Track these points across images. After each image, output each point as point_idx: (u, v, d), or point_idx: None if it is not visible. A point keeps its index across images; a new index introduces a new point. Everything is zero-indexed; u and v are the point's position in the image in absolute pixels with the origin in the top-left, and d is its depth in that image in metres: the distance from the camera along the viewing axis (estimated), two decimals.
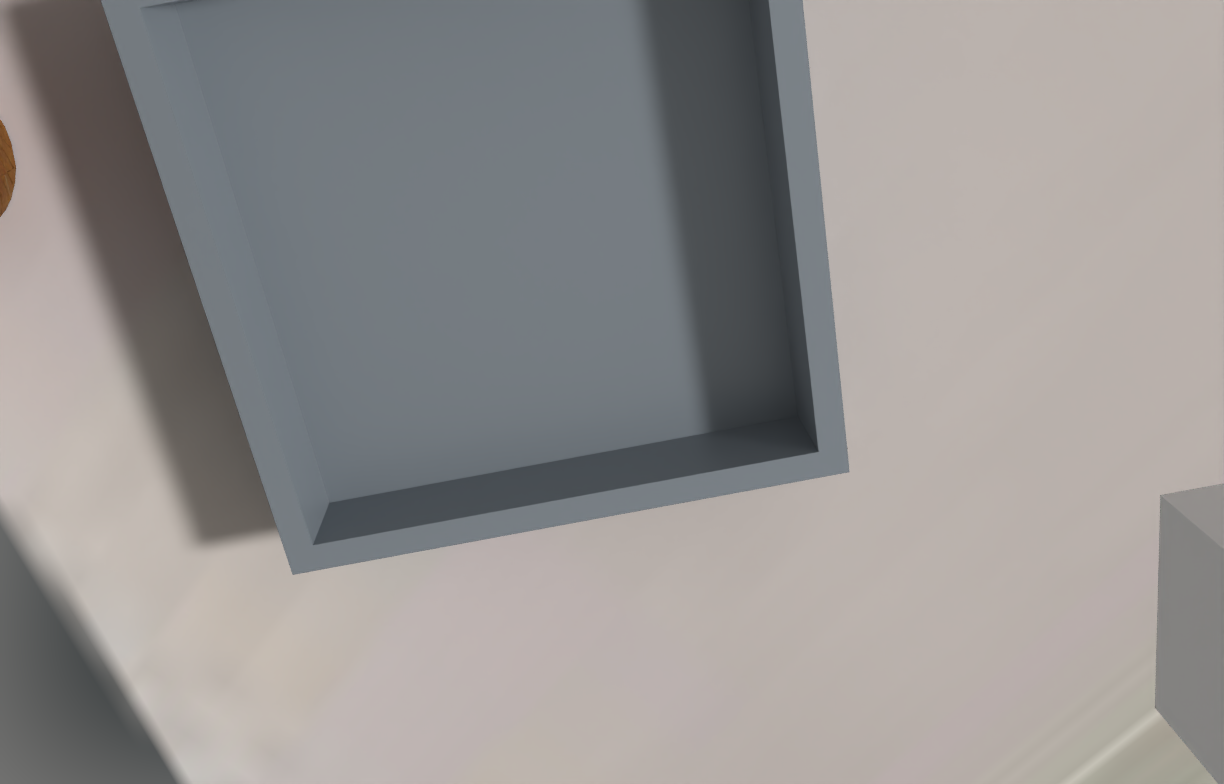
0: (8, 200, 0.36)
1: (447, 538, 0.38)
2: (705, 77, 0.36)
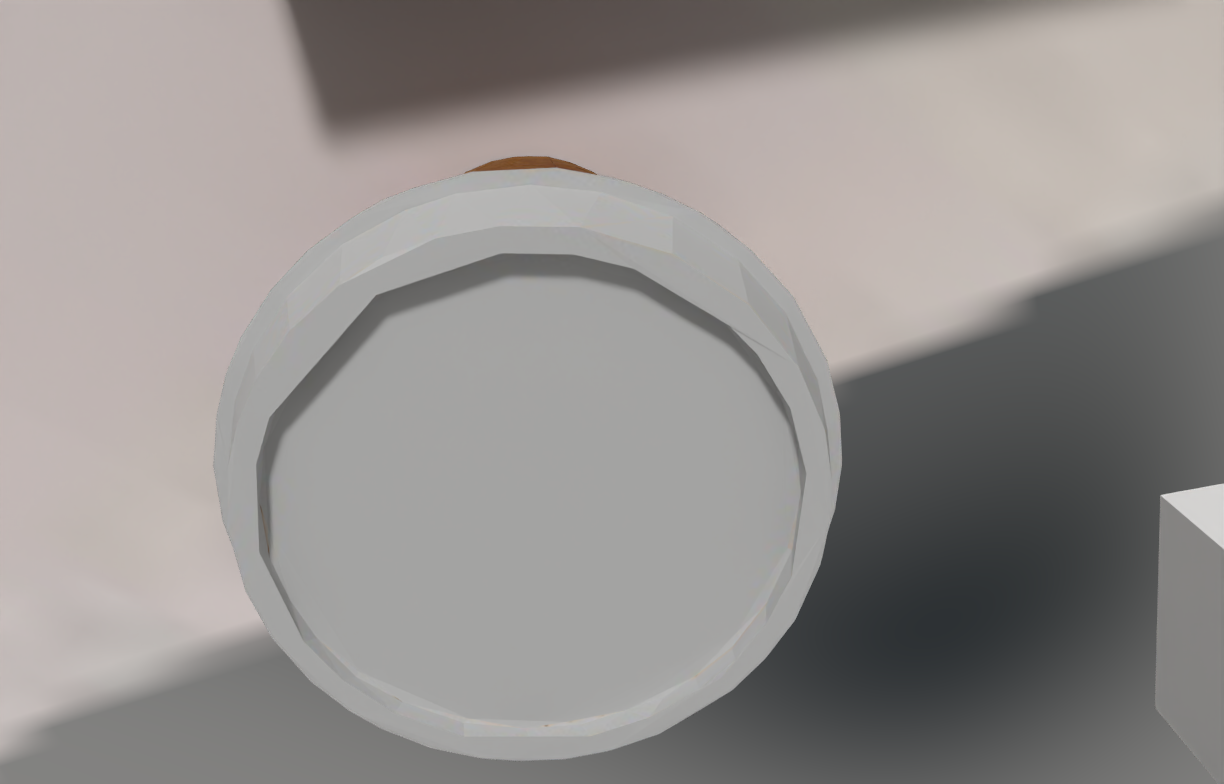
0: (595, 174, 0.25)
1: None
2: None
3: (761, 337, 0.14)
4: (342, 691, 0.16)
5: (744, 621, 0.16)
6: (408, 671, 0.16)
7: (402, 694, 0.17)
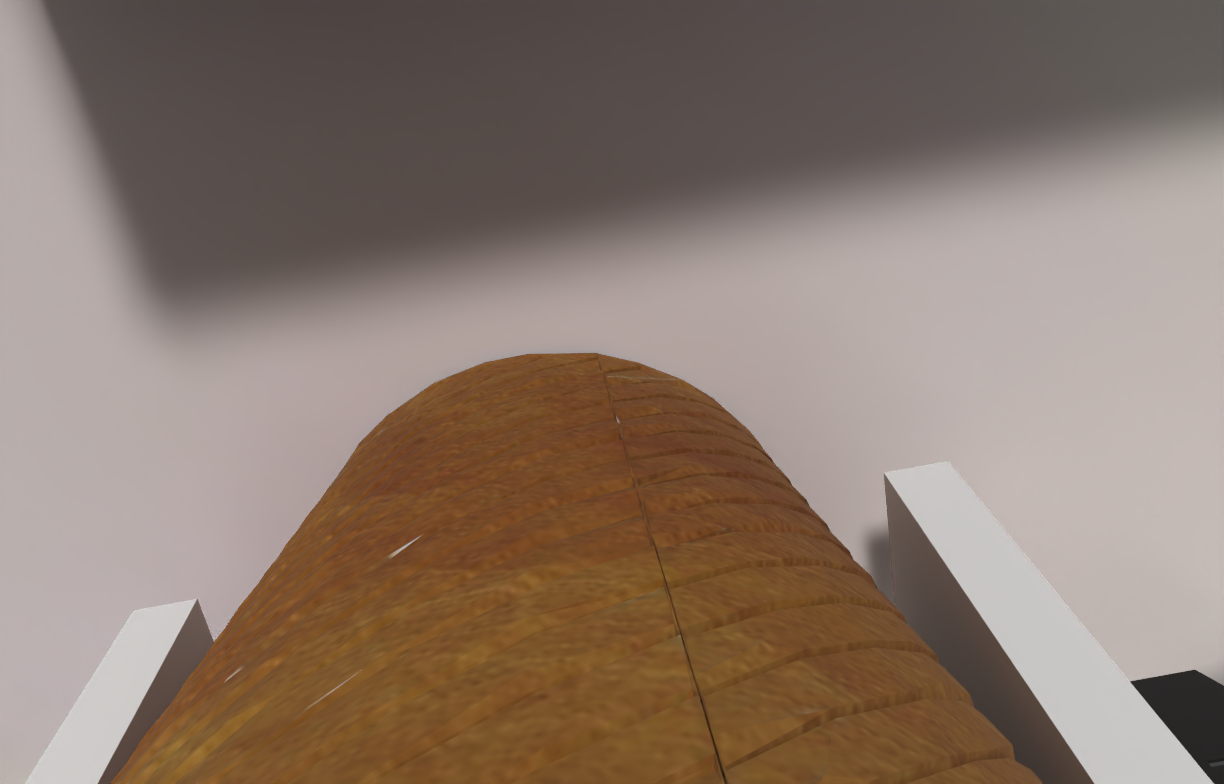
0: (687, 386, 0.13)
1: None
2: None
3: None
4: None
5: None
6: None
7: None
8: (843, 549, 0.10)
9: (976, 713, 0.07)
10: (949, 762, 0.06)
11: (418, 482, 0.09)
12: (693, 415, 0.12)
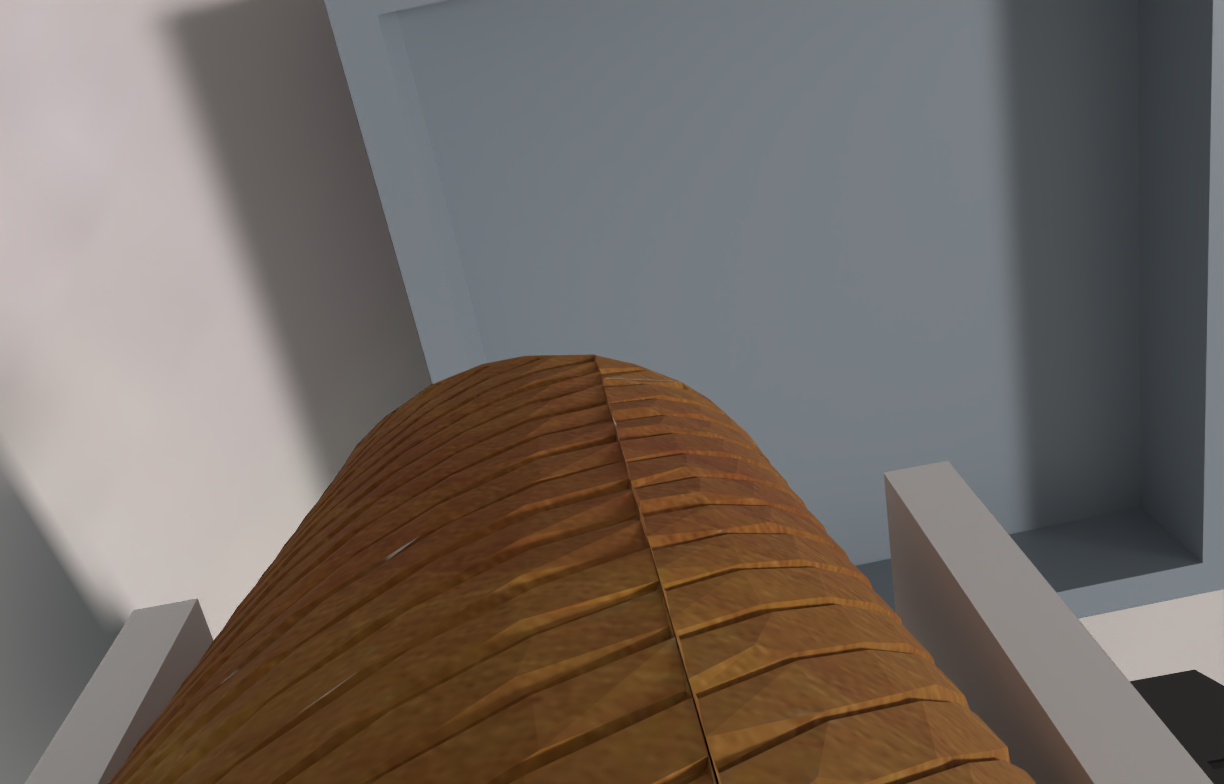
0: (684, 387, 0.13)
1: None
2: (1070, 88, 0.27)
3: None
4: None
5: None
6: None
7: None
8: (839, 551, 0.10)
9: (971, 715, 0.07)
10: (942, 763, 0.06)
11: (415, 484, 0.09)
12: (690, 417, 0.12)
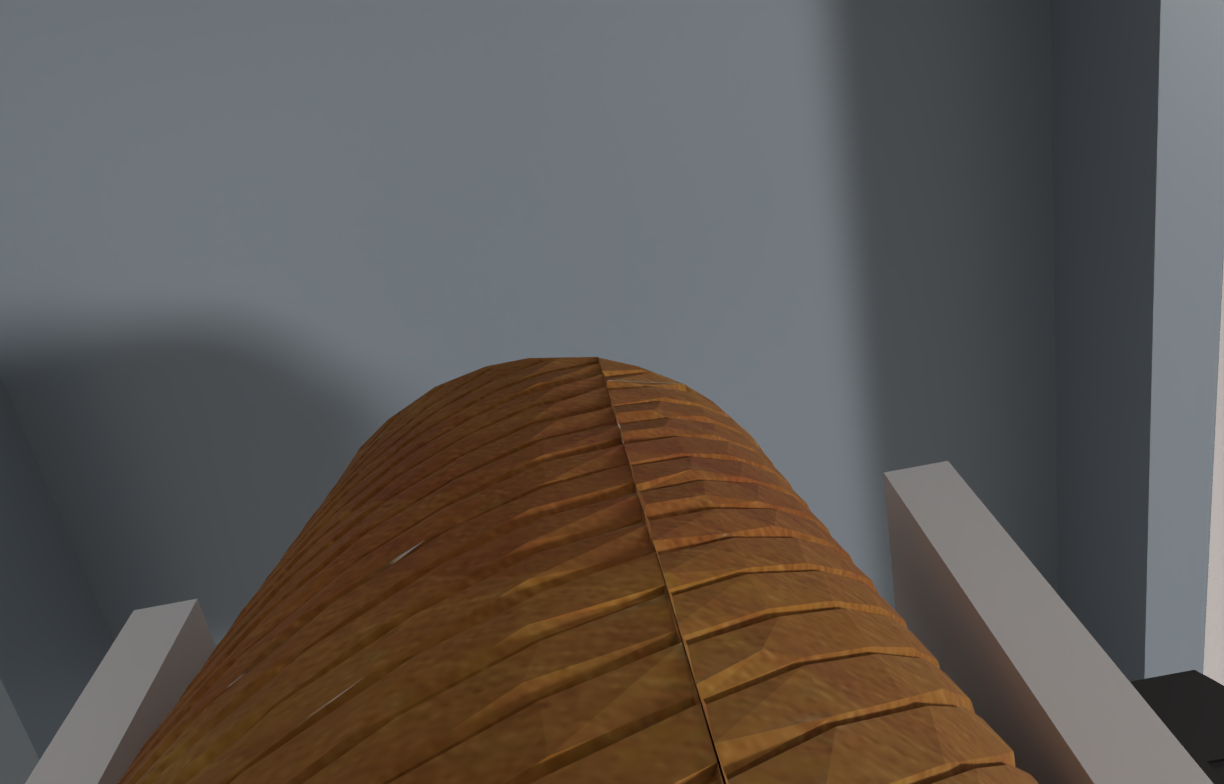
0: (688, 390, 0.13)
1: None
2: (946, 118, 0.17)
3: None
4: None
5: None
6: None
7: None
8: (844, 553, 0.10)
9: (977, 719, 0.07)
10: (949, 768, 0.06)
11: (419, 487, 0.09)
12: (694, 419, 0.12)
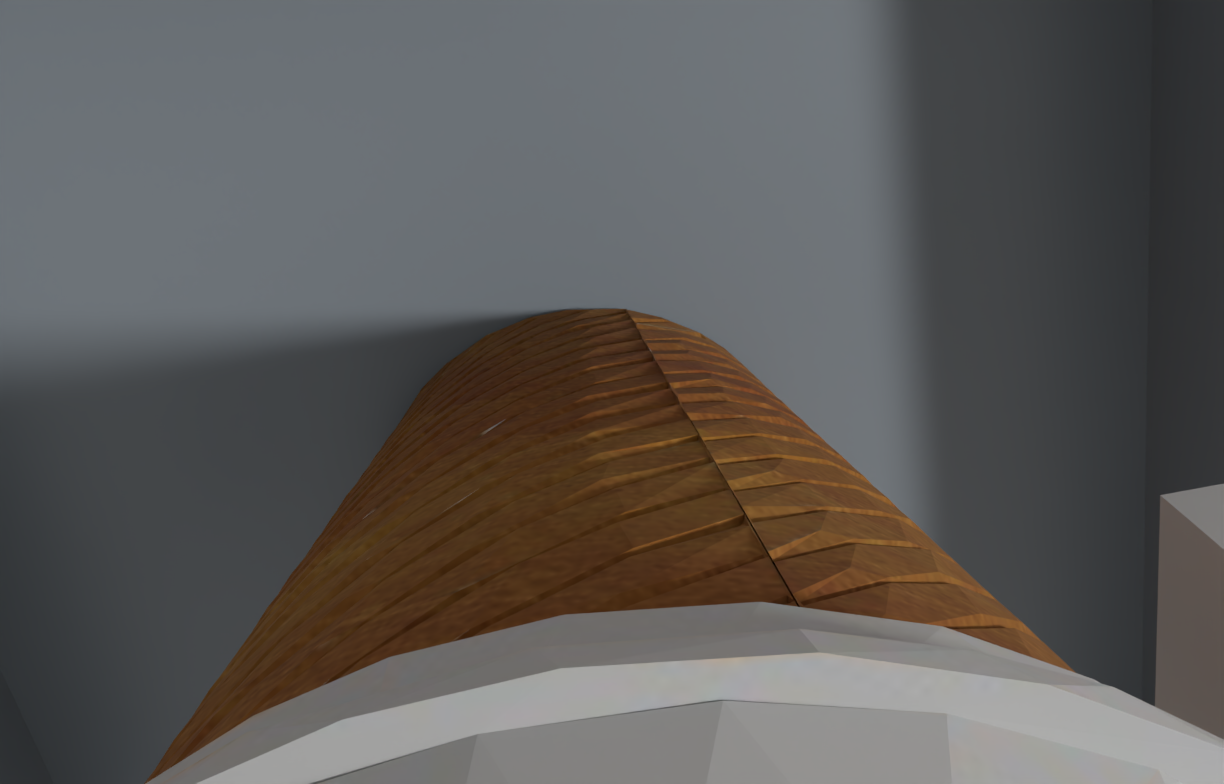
0: (703, 337, 0.15)
1: None
2: (1024, 171, 0.15)
3: None
4: None
5: None
6: None
7: None
8: None
9: None
10: (911, 548, 0.08)
11: (493, 392, 0.11)
12: (710, 354, 0.14)
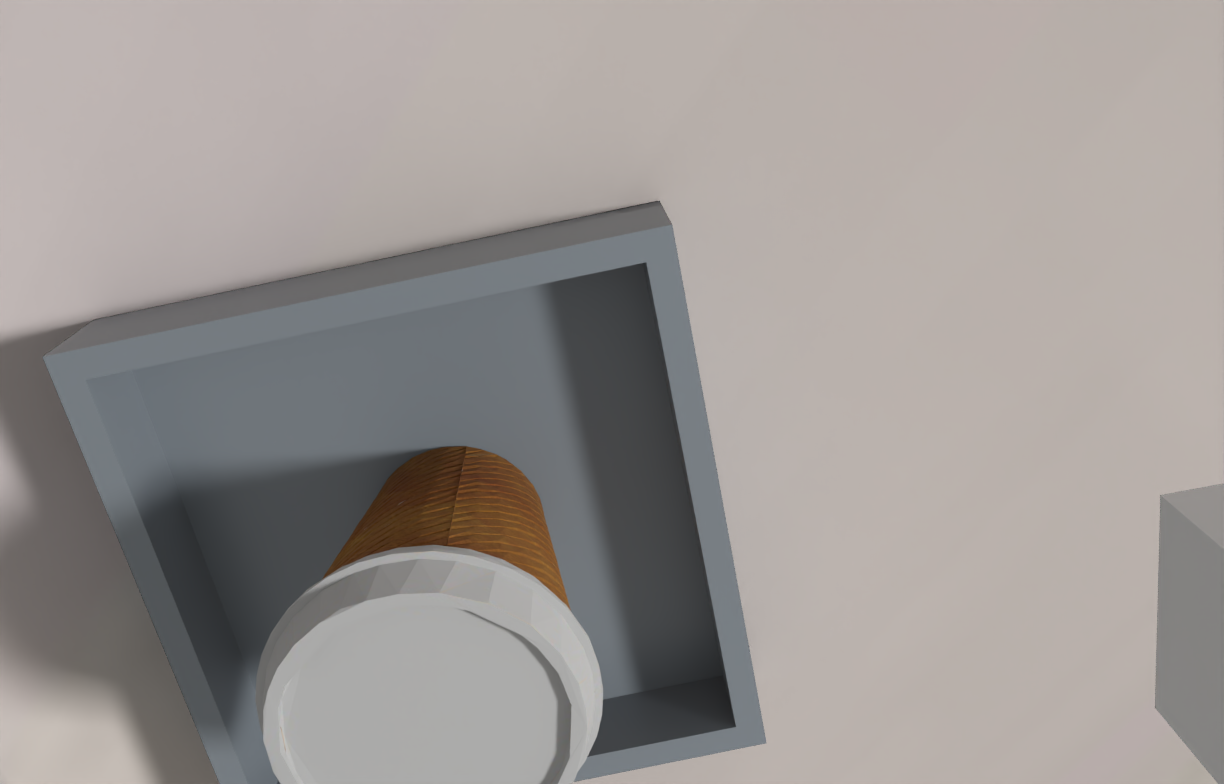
0: (497, 456, 0.39)
1: None
2: (617, 390, 0.38)
3: (538, 640, 0.28)
4: None
5: (549, 779, 0.30)
6: None
7: None
8: (525, 505, 0.36)
9: (525, 534, 0.33)
10: (500, 535, 0.31)
11: (405, 488, 0.35)
12: (491, 467, 0.37)
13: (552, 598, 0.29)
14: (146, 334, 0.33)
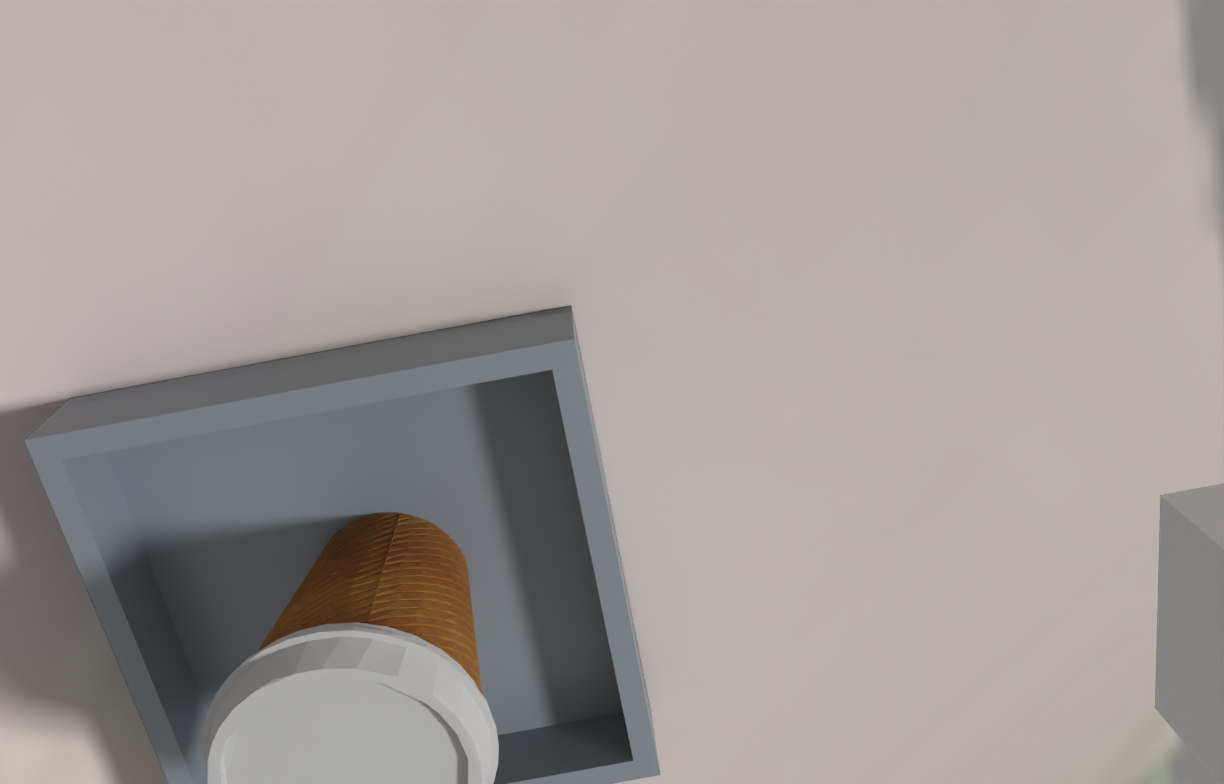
0: (426, 522, 0.44)
1: None
2: (533, 467, 0.43)
3: (439, 707, 0.33)
4: None
5: None
6: None
7: None
8: (446, 572, 0.41)
9: (441, 604, 0.38)
10: (417, 608, 0.37)
11: (340, 557, 0.40)
12: (420, 534, 0.42)
13: (454, 670, 0.34)
14: (115, 422, 0.38)
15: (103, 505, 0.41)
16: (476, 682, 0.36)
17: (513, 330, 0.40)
